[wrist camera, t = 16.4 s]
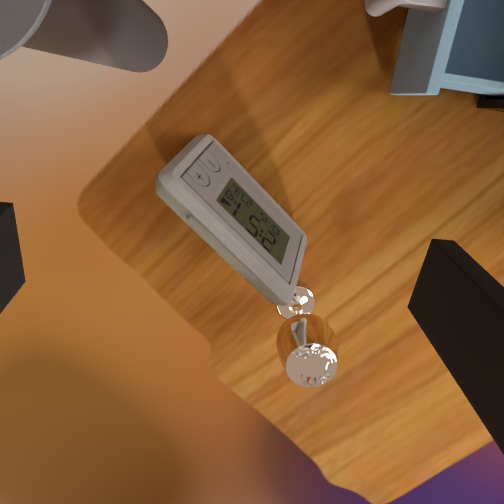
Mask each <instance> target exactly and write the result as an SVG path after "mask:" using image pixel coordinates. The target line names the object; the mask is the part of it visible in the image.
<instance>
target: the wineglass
mask: <svg viewBox="0 0 504 504" xmlns="http://www.w3.org/2000/svg"><path fill="white" fill-rule="evenodd" d="M314 306H315V298H314V296H313V294H312V292H311V291H310V290H308V289H307V288H305V287H302V286H296V289H295V293H294V296H293V299H292V301H291V303H290V304H288V305H285V306H279V305H277V309H278V311H279V313H280V314H281V315H282V316H283V317H285V318H286V319H287V320H286V321H285V322H284V323H283V324H282V325H281V327H280V329H279V331H278V334H277V340H276V347H277V353H278V357H279V359H280V362H281V364H282V366H283V368H284V370H285V372H286V373H287V375H288V376H289V378H290V379H291V380H292V381H293V382H295V383H296V384H298V385H301V386H304V387H316V386H320V385H322V384H324V383H326V382H328V381H329V380H330V379H331V378H332V377H333V376H334V374H335V373H336V370H337V366H338V346H337V340H336V337H335V334H334V332H333V330H332V328H331V327H330V325H329V324H328V323H327V322H326V321H325V320H324V319H323V318H321V317H320V316H317V315H315V314H311V312H312V311H313V309H314Z"/></svg>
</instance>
